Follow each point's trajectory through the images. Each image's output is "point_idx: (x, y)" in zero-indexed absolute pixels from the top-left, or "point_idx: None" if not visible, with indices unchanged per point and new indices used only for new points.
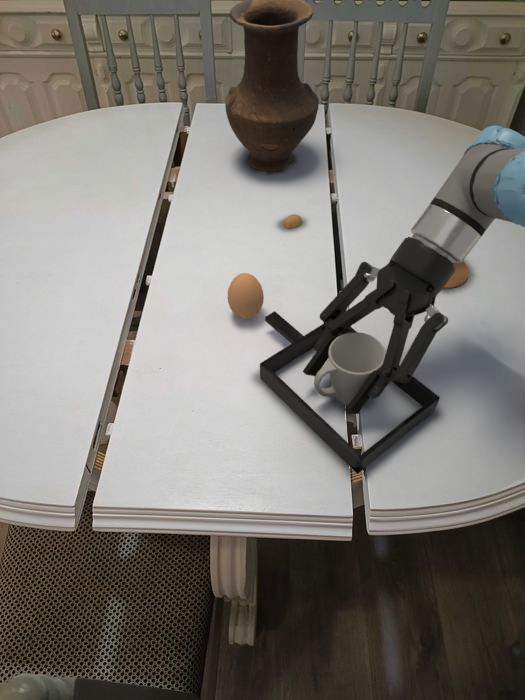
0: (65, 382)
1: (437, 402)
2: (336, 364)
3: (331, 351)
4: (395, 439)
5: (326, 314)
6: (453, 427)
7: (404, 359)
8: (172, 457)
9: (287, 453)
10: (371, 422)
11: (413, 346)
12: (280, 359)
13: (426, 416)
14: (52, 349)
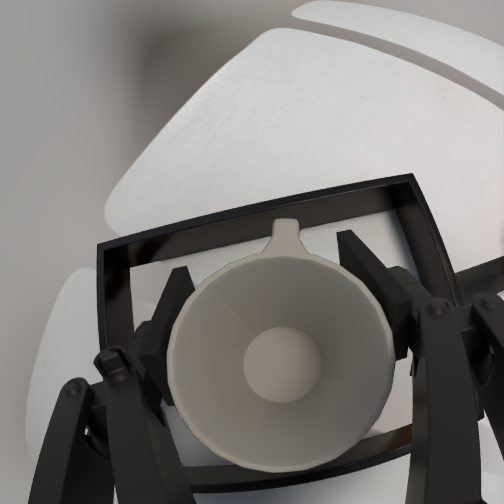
0: (429, 38)
1: None
2: (266, 255)
3: (338, 278)
4: None
5: (490, 311)
6: None
7: (68, 438)
8: (295, 66)
9: (219, 177)
10: None
11: (52, 493)
12: (420, 231)
13: None
14: (471, 48)
